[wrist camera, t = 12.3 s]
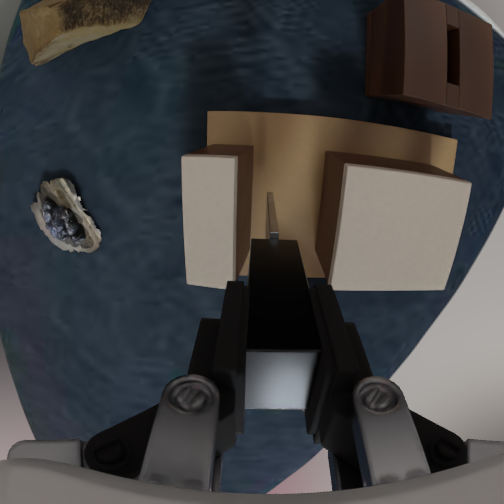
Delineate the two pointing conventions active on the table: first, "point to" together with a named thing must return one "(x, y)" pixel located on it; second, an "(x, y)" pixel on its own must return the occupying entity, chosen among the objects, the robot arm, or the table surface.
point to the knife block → (430, 57)
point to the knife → (279, 324)
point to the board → (311, 164)
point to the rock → (74, 24)
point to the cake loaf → (388, 223)
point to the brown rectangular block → (217, 212)
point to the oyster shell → (65, 217)
